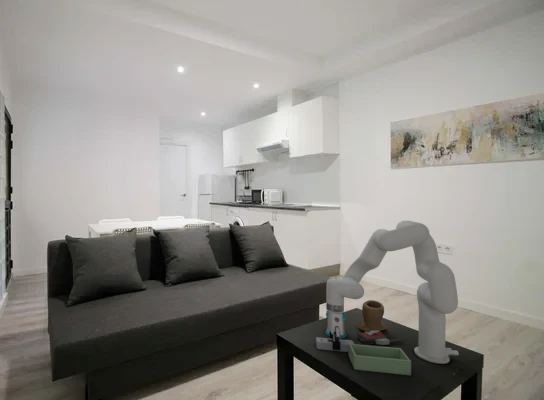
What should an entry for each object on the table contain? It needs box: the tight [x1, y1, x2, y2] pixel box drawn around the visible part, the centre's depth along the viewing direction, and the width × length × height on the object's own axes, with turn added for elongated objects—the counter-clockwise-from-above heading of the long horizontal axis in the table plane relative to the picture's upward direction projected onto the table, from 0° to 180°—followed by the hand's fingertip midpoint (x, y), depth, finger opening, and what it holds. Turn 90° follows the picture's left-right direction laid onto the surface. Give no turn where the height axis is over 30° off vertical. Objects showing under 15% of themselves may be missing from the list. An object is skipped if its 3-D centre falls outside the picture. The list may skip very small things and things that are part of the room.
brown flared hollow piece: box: [356, 299, 388, 333], centre depth 153 cm, size 15×12×15 cm
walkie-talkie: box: [357, 330, 404, 346], centre depth 141 cm, size 9×4×20 cm
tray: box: [348, 343, 412, 376], centre depth 121 cm, size 21×10×6 cm, turn 79°
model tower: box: [324, 274, 347, 340], centre depth 149 cm, size 10×10×30 cm
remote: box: [315, 336, 355, 353], centre depth 135 cm, size 16×5×3 cm, turn 79°
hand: (334, 345), depth 135 cm, fingers open, 7 cm apart
